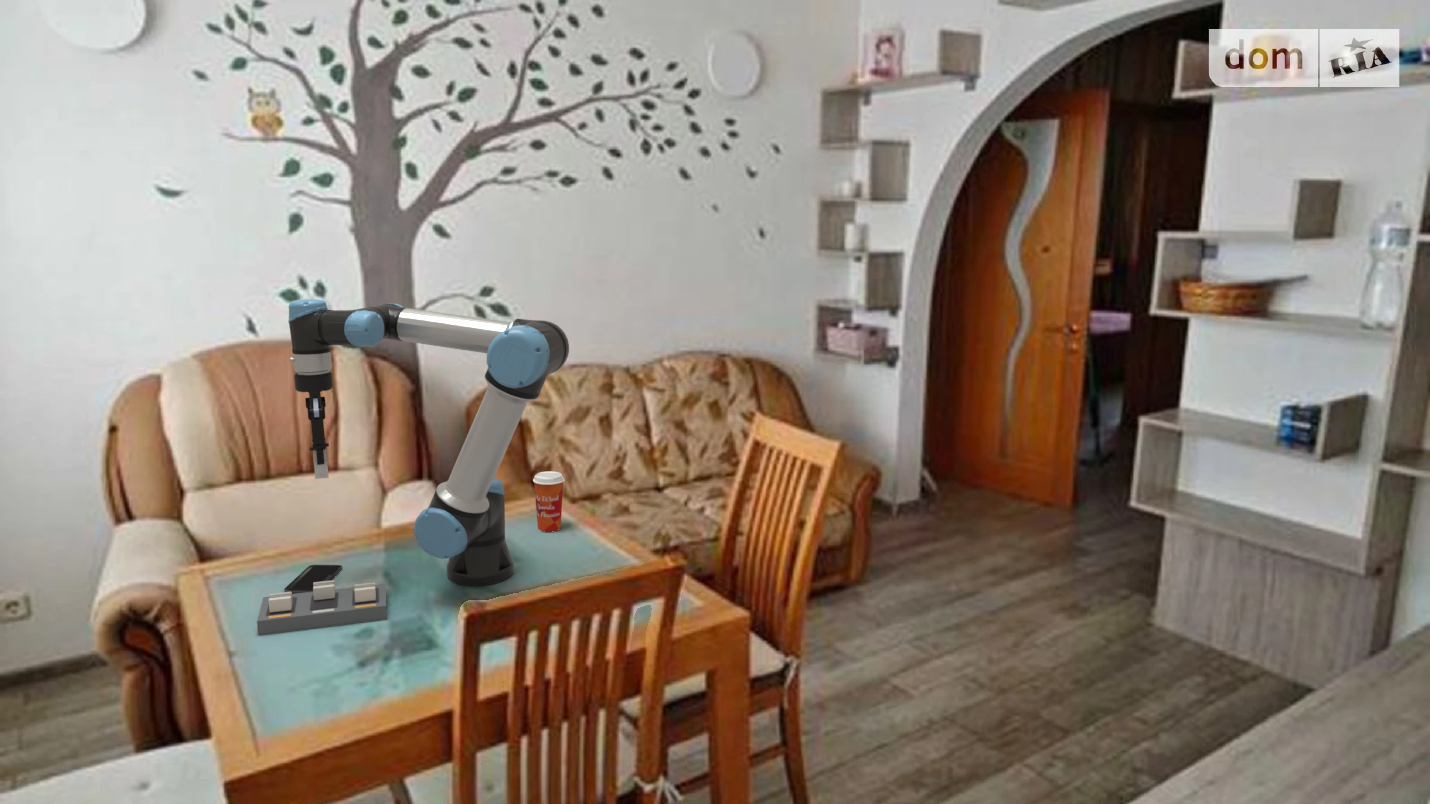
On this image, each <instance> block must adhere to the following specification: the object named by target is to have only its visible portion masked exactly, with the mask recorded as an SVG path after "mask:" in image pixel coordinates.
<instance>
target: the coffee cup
mask: <svg viewBox="0 0 1430 804" xmlns="http://www.w3.org/2000/svg"><path fill="white" fill-rule="evenodd" d="M532 481H533V484H534V496H535V507H536V508H535V512H536V521H537V530H538V529H539V530H541V531H545V532H544V533H553V532H552V531H556V530H558V529H560V530H561V528H562V527H561V526H562V512H563V510H562V509H563V495H564V494H563V492H564V491H563V490H564V482H566V479H565V478H564V476H563V474H562V473H561V472H559V471H553V470H552V471H550V470H549V471H541V472H538V473H536V474H535V475H534V477H533V479H532ZM539 530H538V531H539ZM541 531H540V532H541ZM558 531H559V530H558ZM556 532H557V531H556Z"/></svg>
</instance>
